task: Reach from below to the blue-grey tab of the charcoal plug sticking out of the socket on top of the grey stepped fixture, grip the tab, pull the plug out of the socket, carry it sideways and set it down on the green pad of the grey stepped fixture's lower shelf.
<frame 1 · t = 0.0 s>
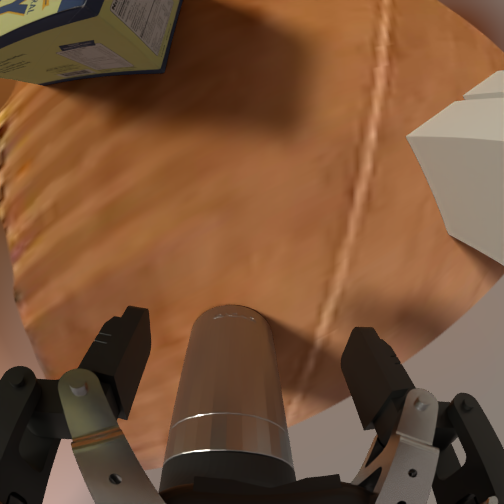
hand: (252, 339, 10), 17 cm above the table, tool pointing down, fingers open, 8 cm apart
grey stepped fixture: (475, 149, 24), on the table
protein box: (107, 35, 19), on the table
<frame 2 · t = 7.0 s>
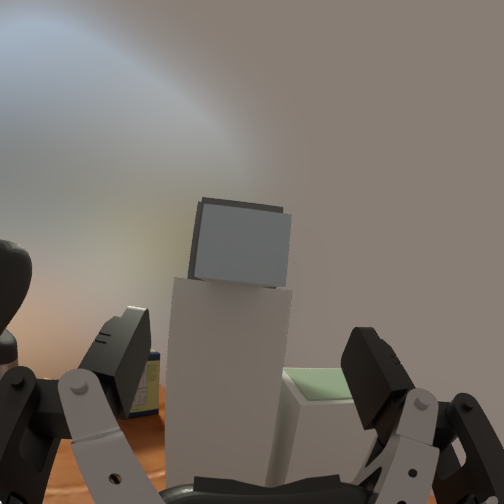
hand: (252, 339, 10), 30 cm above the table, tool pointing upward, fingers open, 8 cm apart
protein box: (125, 404, 56), on the table
plug: (233, 284, 22), point 32 cm above the table, touching grey stepped fixture
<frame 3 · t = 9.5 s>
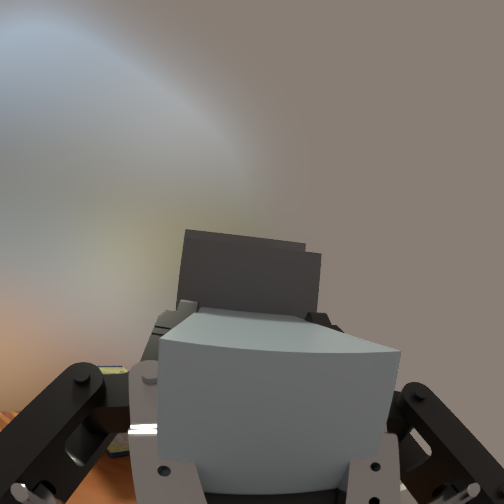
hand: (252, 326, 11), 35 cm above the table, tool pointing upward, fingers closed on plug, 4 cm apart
protein box: (117, 438, 46), on the table
plug: (240, 382, 13), point 32 cm above the table, touching gripper, grey stepped fixture
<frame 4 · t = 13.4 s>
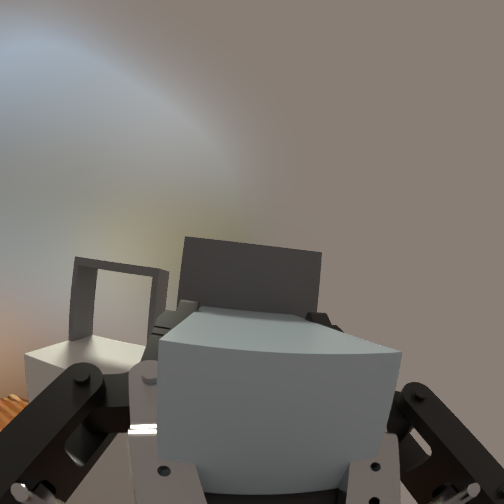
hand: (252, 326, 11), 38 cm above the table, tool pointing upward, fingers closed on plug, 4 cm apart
plug: (240, 381, 13), point 35 cm above the table, touching gripper
when the fingers open (26 cm above the table, at t = 17.4 s): plug stays where it is, resting on grey stepped fixture.
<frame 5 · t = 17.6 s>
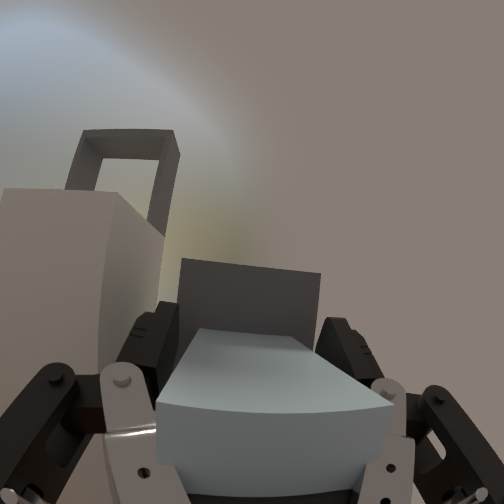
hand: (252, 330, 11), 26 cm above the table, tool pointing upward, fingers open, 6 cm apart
plug: (238, 401, 13), point 22 cm above the table, touching grey stepped fixture
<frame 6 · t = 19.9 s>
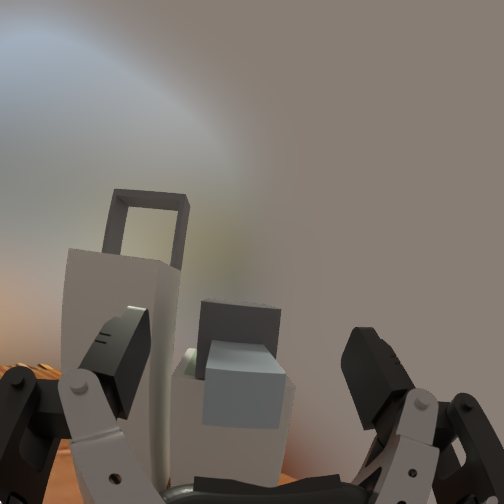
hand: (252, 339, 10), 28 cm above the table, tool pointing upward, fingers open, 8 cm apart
grey stepped fixture: (164, 497, 25), on the table
plug: (234, 381, 23), point 22 cm above the table, touching grey stepped fixture
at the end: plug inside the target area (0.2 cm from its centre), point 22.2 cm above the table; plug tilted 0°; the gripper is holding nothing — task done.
